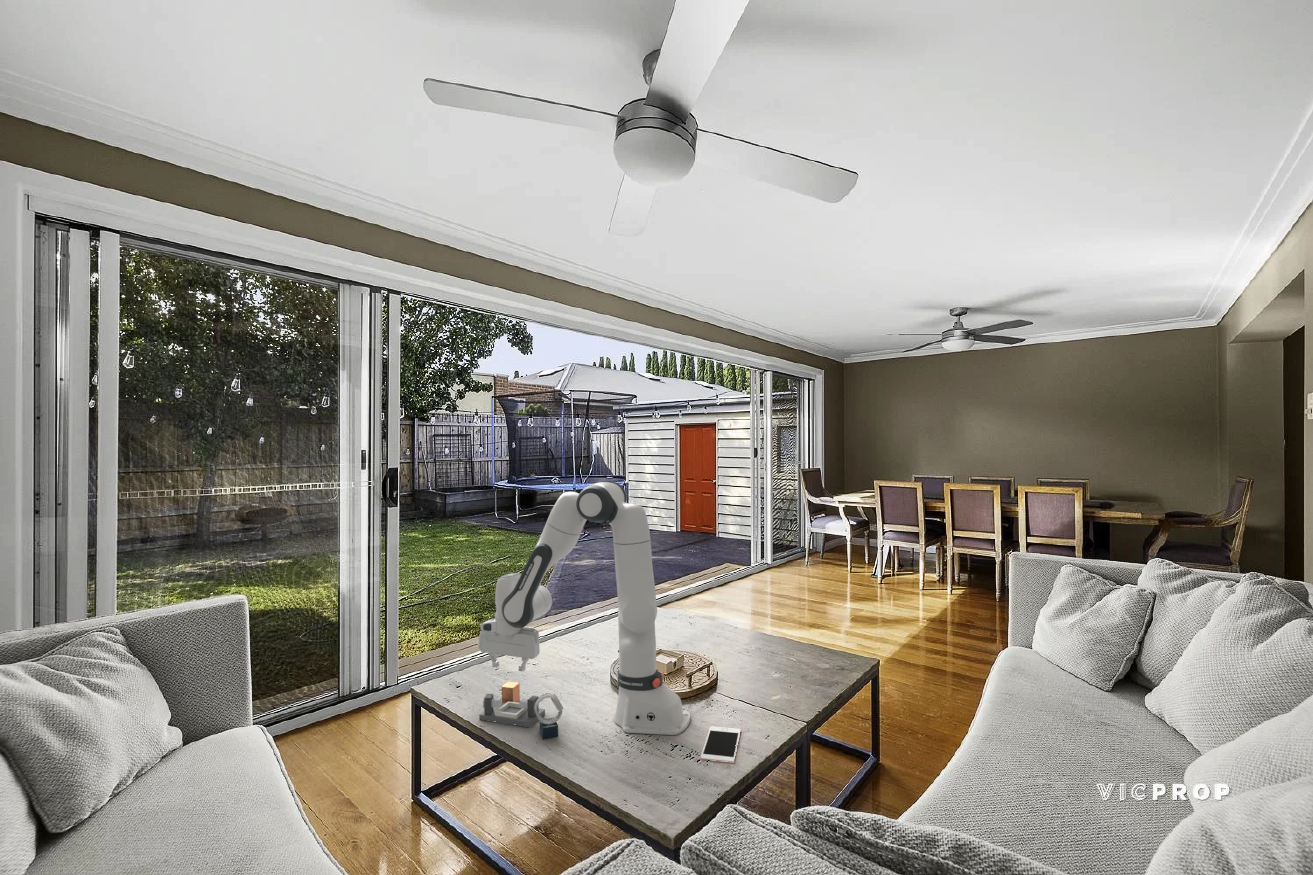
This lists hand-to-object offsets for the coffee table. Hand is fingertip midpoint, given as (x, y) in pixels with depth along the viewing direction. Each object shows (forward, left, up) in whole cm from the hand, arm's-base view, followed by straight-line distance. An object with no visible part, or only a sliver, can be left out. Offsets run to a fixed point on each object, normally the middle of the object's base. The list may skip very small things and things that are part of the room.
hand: (508, 668), depth 193 cm
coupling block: (-1, 0, -11) cm, 11 cm away
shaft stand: (-6, +8, -11) cm, 15 cm away
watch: (-22, +14, -11) cm, 28 cm away
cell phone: (-69, +6, -12) cm, 71 cm away
